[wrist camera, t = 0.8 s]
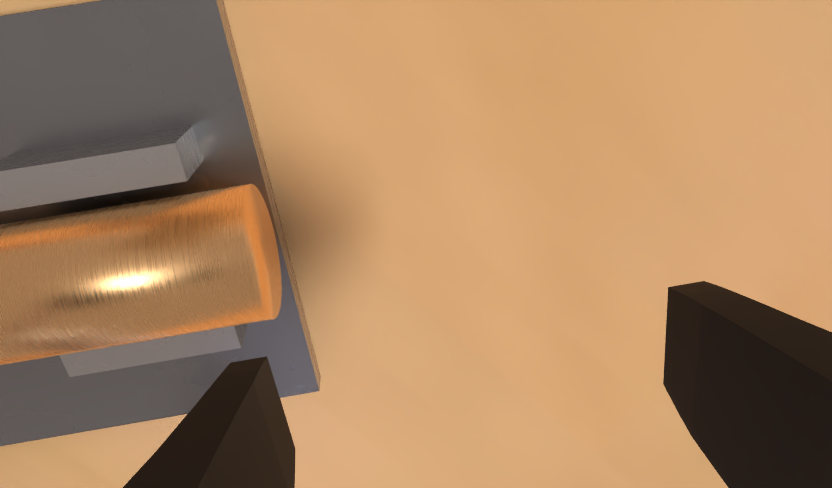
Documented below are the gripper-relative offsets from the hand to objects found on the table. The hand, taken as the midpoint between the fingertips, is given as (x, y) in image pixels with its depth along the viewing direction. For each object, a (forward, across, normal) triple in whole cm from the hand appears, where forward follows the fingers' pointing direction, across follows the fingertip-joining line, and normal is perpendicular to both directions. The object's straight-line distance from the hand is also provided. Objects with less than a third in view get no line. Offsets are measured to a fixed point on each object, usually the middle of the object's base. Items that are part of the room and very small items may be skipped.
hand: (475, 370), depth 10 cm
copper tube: (+8, +13, 0) cm, 15 cm away
